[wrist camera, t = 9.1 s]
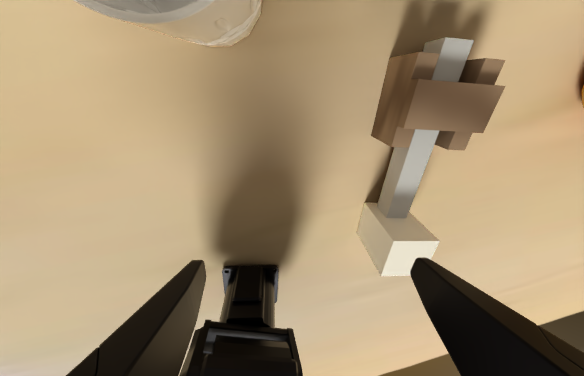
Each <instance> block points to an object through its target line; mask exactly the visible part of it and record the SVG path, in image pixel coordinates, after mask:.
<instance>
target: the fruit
mask: <svg viewBox="0 0 584 376" xmlns="http://www.w3.org/2000/svg"><path fill="white" fill-rule="evenodd" d="M582 103H583V107H584V85H583V88H582Z"/></svg>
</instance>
